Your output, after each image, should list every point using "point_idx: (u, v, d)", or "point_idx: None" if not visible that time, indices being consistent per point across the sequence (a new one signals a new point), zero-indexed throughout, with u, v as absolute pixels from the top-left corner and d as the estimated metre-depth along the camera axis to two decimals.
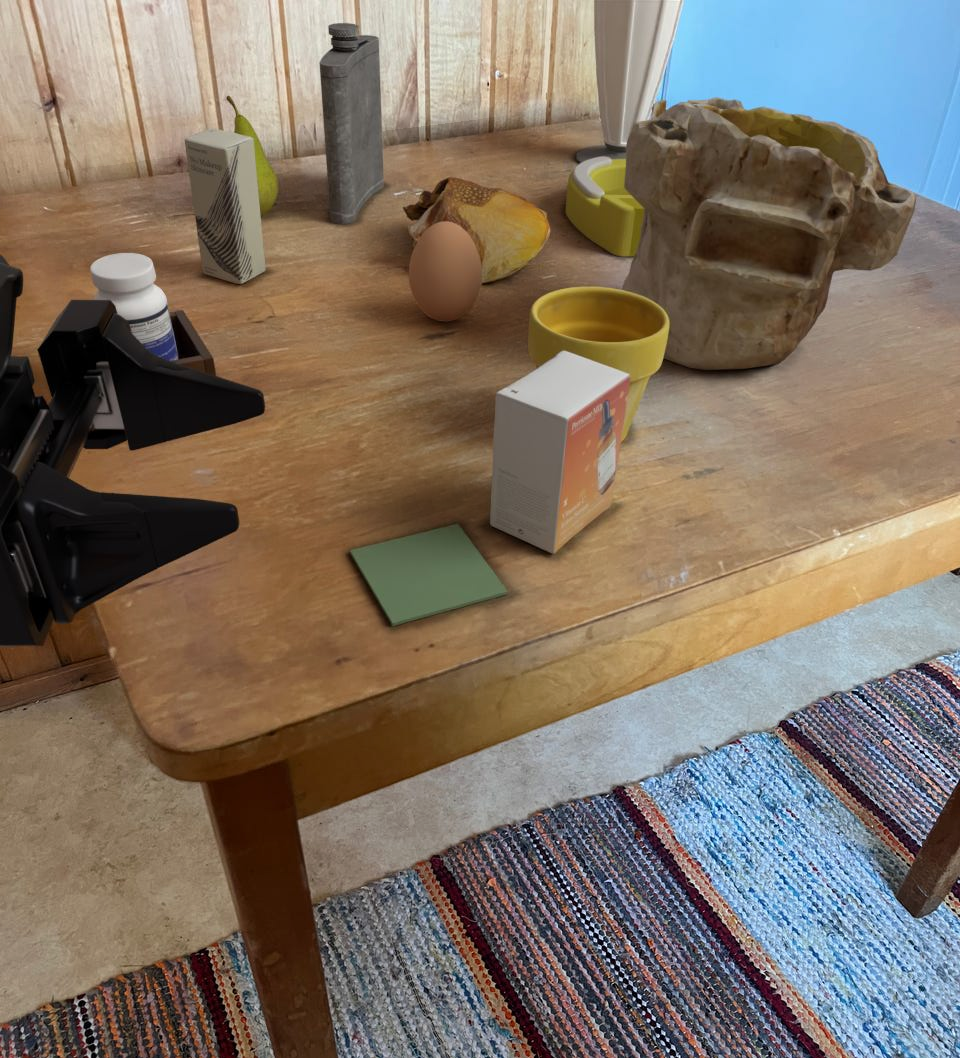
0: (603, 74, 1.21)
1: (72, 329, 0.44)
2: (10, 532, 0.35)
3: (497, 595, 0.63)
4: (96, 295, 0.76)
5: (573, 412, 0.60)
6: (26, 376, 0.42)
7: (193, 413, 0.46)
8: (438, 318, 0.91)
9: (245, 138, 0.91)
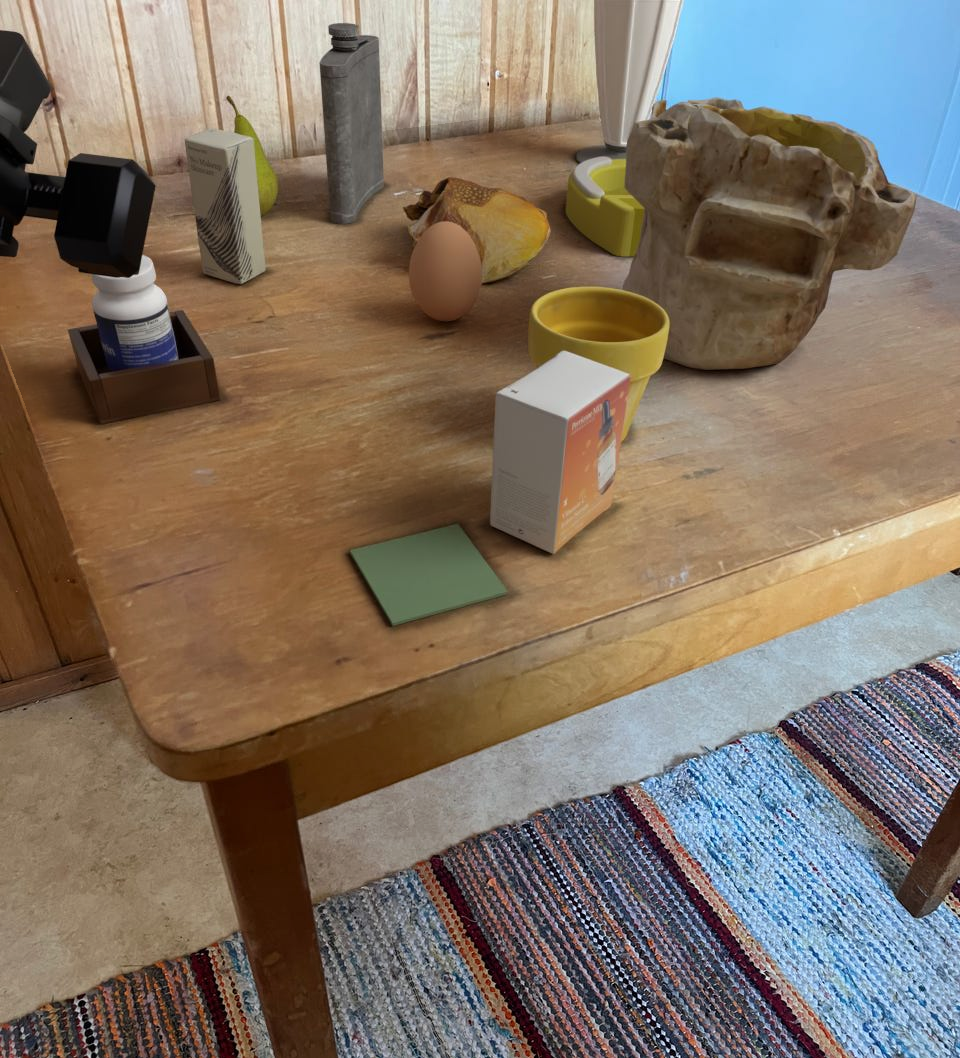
0: (603, 74, 1.21)
1: None
2: None
3: (497, 595, 0.63)
4: (96, 295, 0.76)
5: (573, 412, 0.60)
6: None
7: None
8: (438, 318, 0.91)
9: (245, 138, 0.91)
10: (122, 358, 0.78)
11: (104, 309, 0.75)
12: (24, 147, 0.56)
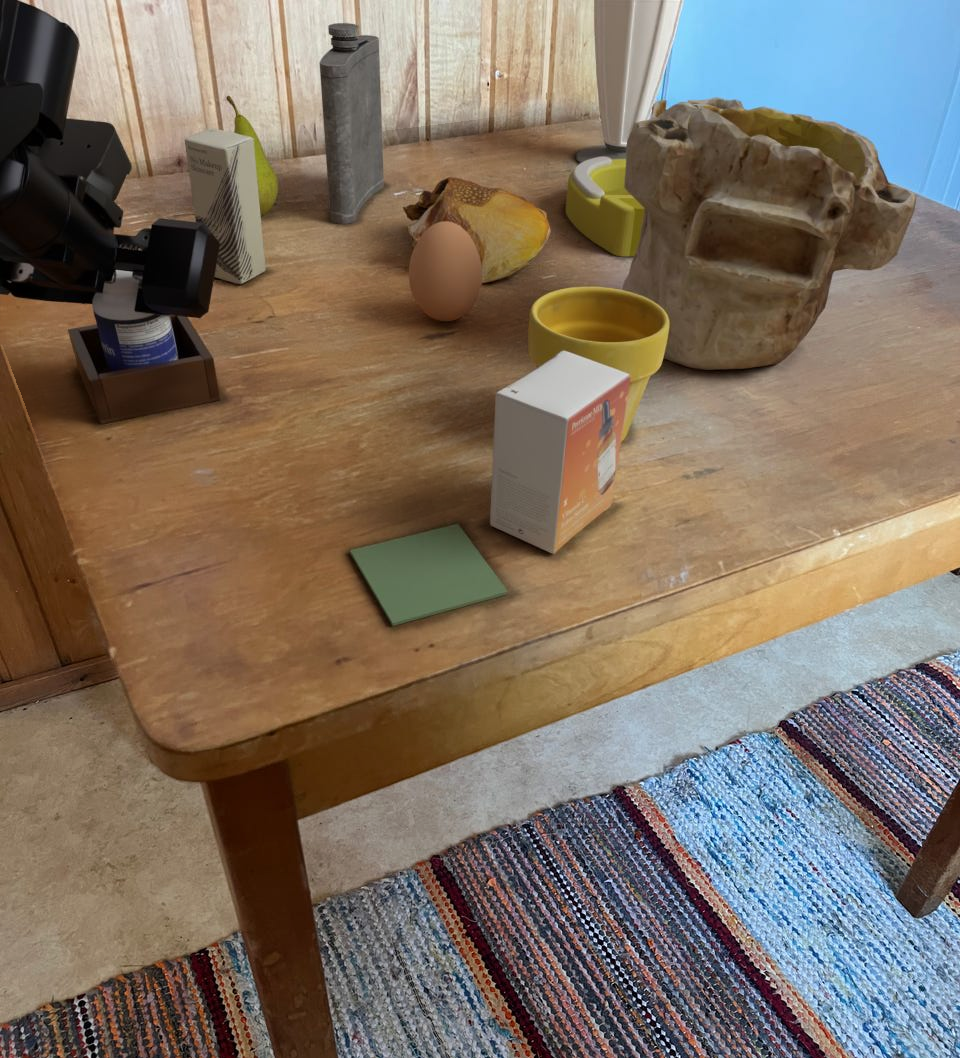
0: (603, 74, 1.21)
1: None
2: None
3: (497, 595, 0.63)
4: (96, 295, 0.76)
5: (573, 412, 0.60)
6: None
7: None
8: (438, 318, 0.91)
9: (245, 138, 0.91)
10: (122, 358, 0.78)
11: (104, 309, 0.75)
12: (115, 214, 0.68)
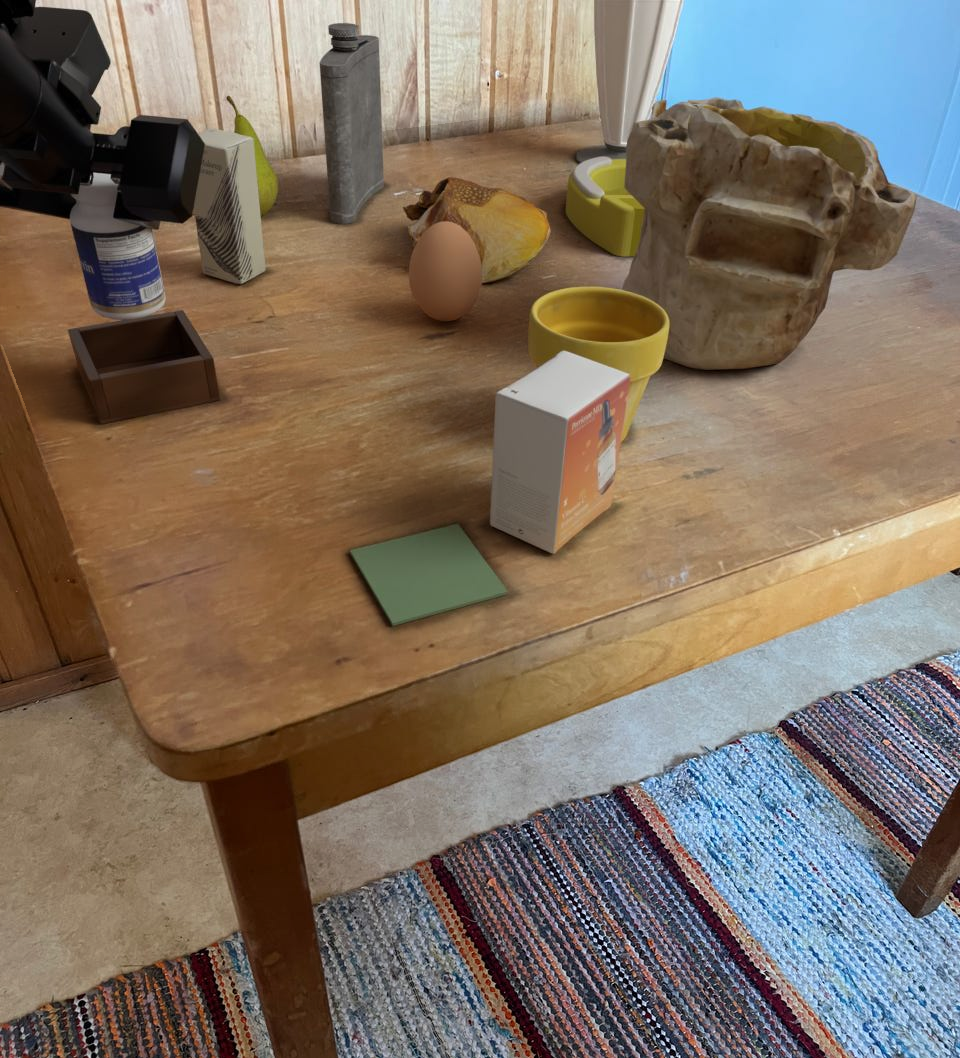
0: (603, 74, 1.21)
1: None
2: None
3: (497, 595, 0.63)
4: (74, 207, 0.72)
5: (573, 412, 0.60)
6: None
7: (57, 200, 0.71)
8: (438, 318, 0.91)
9: (245, 138, 0.91)
10: (101, 276, 0.73)
11: (82, 221, 0.71)
12: (91, 108, 0.64)
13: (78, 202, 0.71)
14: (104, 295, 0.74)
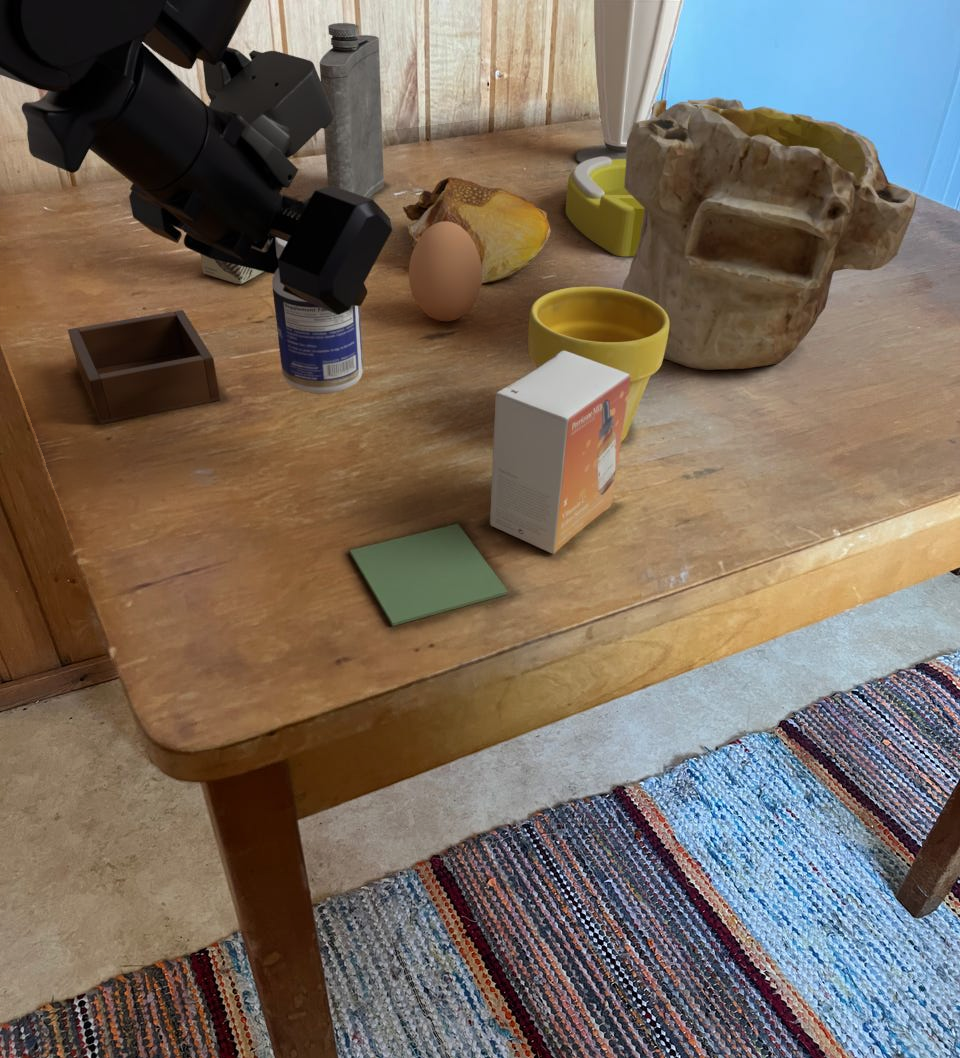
0: (603, 74, 1.21)
1: None
2: None
3: (497, 595, 0.63)
4: None
5: (573, 412, 0.60)
6: None
7: (266, 255, 0.65)
8: (438, 318, 0.91)
9: None
10: (287, 343, 0.66)
11: (277, 282, 0.64)
12: (282, 170, 0.56)
13: None
14: (288, 363, 0.67)
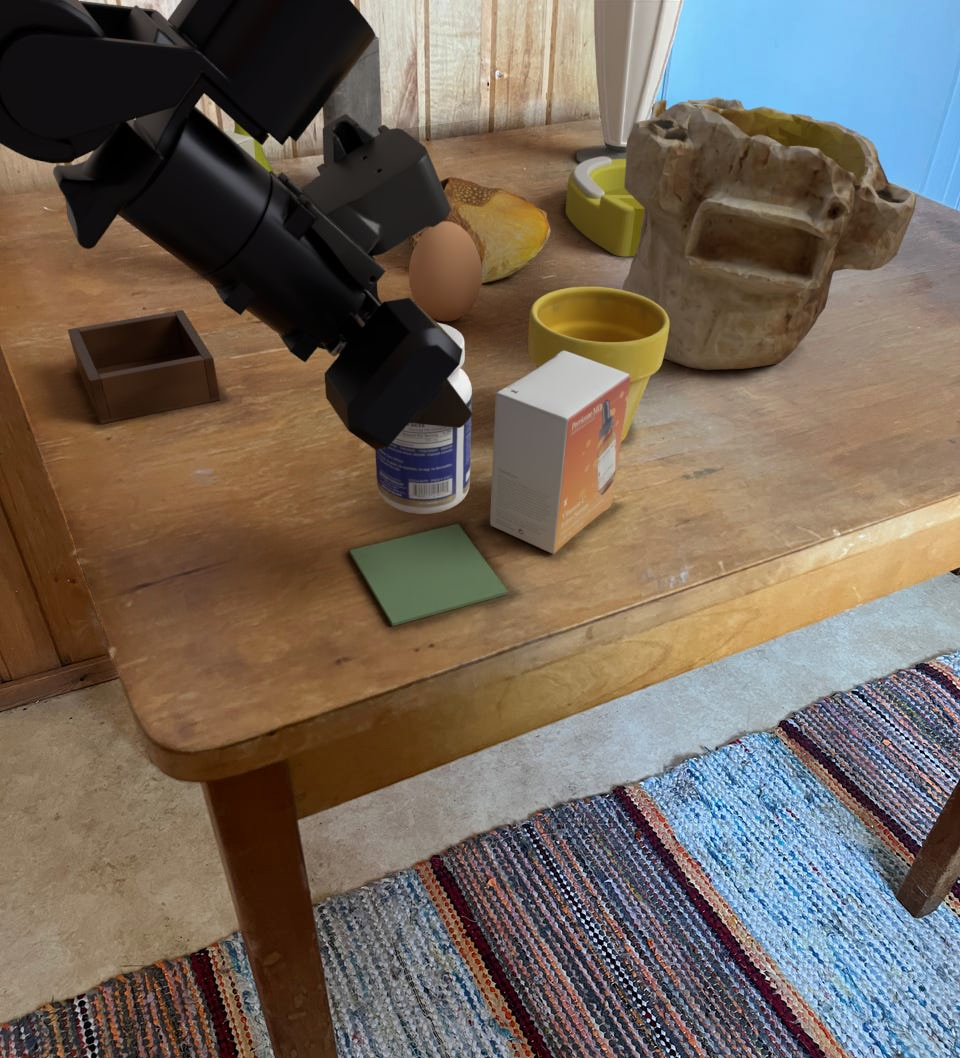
0: (603, 74, 1.21)
1: None
2: None
3: (497, 595, 0.63)
4: None
5: (573, 412, 0.60)
6: None
7: None
8: (438, 318, 0.91)
9: (245, 138, 0.91)
10: None
11: None
12: (361, 270, 0.47)
13: None
14: (377, 470, 0.58)
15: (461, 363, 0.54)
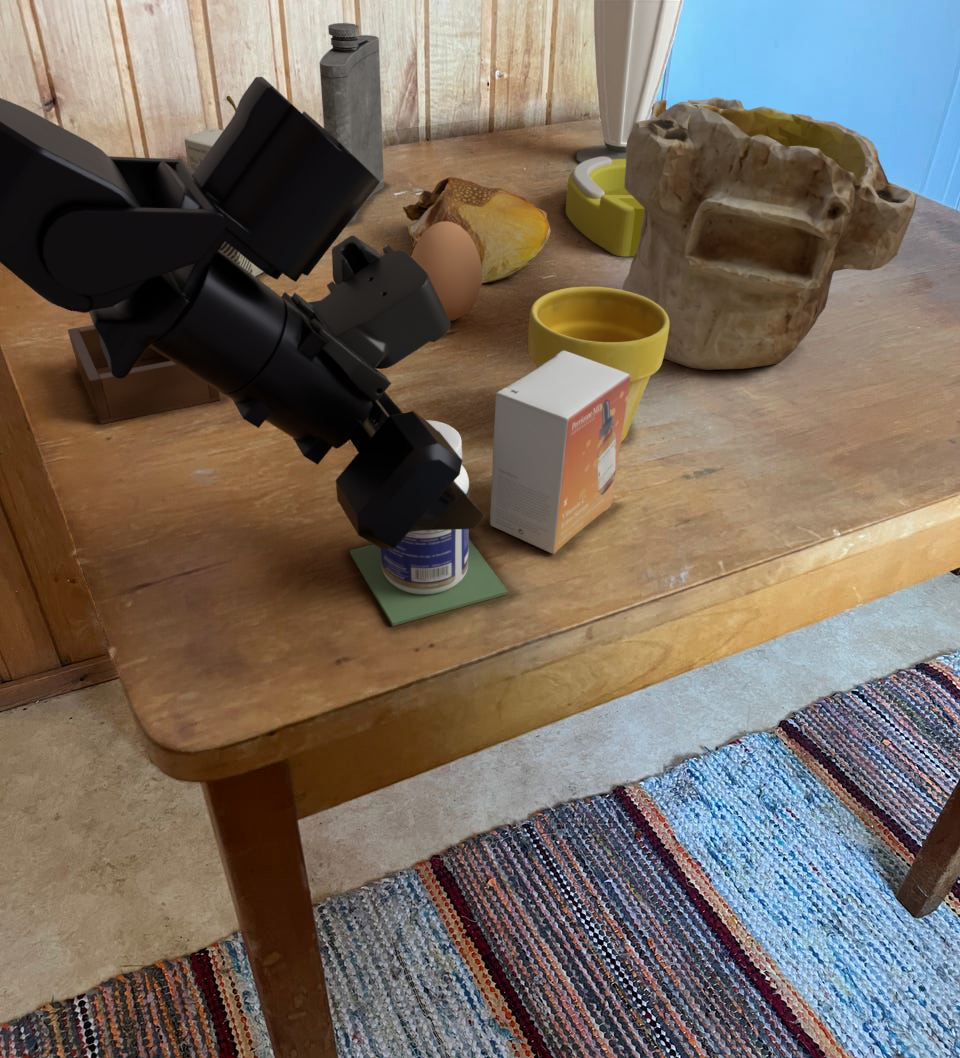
0: (603, 74, 1.21)
1: None
2: None
3: (497, 595, 0.63)
4: None
5: (573, 412, 0.60)
6: None
7: None
8: None
9: None
10: None
11: None
12: (369, 384, 0.51)
13: None
14: (382, 554, 0.63)
15: None
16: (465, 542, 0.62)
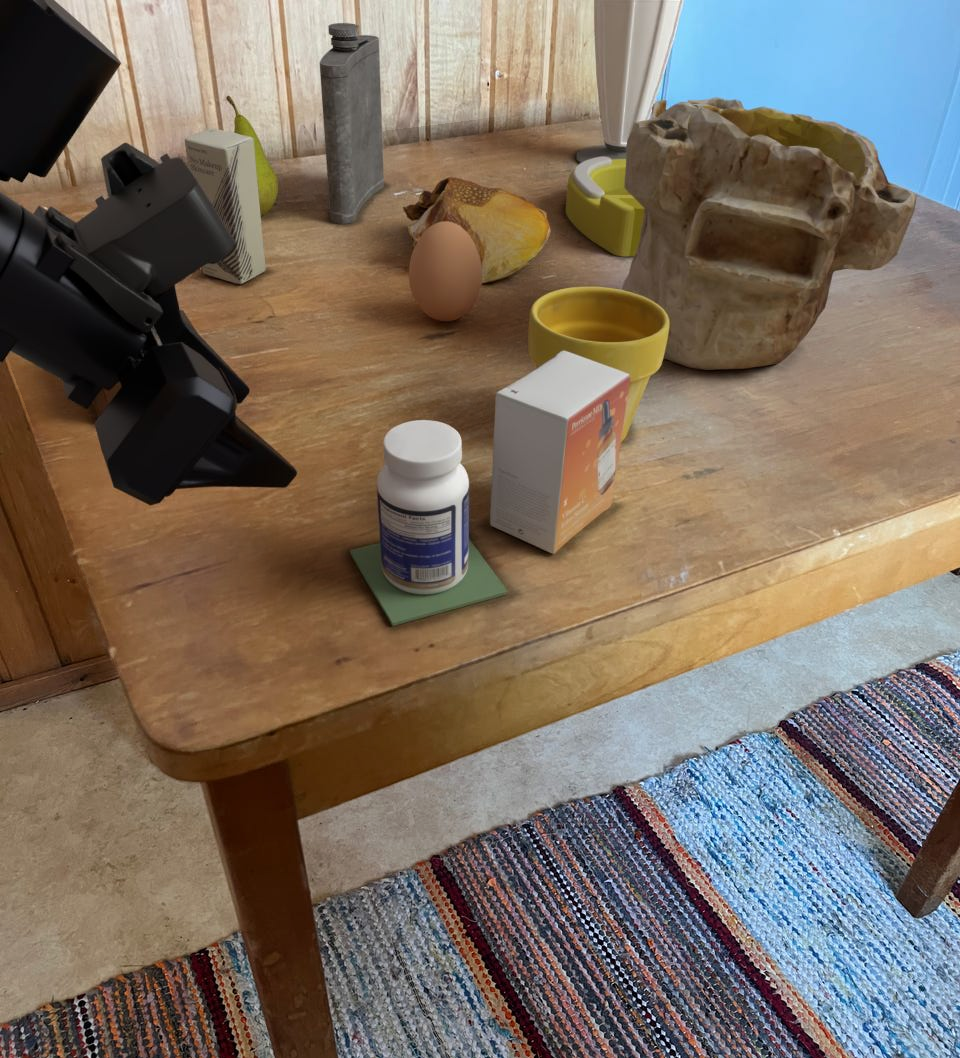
0: (603, 74, 1.21)
1: None
2: None
3: (497, 595, 0.63)
4: None
5: (573, 412, 0.60)
6: None
7: None
8: (438, 318, 0.91)
9: (245, 138, 0.91)
10: (382, 536, 0.62)
11: (379, 478, 0.59)
12: (134, 312, 0.44)
13: None
14: (382, 554, 0.63)
15: (458, 461, 0.58)
16: (465, 542, 0.62)
